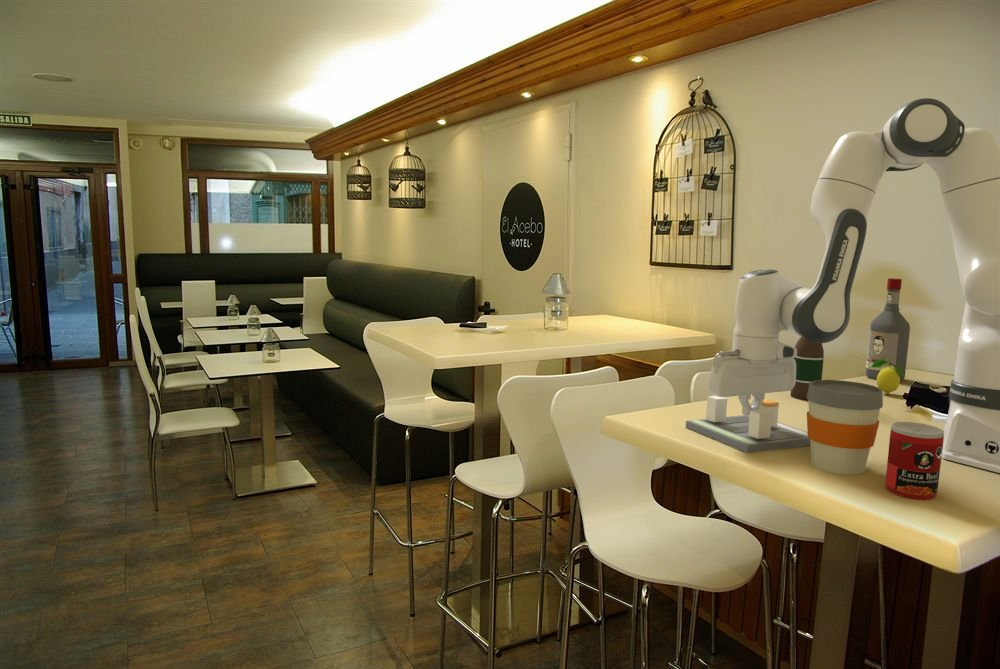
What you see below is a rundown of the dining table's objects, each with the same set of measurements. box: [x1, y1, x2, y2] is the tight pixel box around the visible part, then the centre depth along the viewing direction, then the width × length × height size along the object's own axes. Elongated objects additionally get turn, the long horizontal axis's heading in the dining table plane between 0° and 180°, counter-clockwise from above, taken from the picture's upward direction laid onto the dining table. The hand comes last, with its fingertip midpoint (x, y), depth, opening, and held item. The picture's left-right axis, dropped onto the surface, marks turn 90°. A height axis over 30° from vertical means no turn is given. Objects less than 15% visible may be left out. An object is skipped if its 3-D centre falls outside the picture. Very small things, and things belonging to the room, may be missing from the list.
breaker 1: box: [705, 395, 728, 422], centre depth 157 cm, size 3×3×5 cm
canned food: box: [884, 421, 944, 501], centre depth 121 cm, size 8×8×11 cm
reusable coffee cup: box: [806, 379, 884, 476], centre depth 133 cm, size 12×13×15 cm
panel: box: [685, 414, 811, 454], centre depth 153 cm, size 19×19×2 cm
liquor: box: [864, 277, 911, 381], centre depth 217 cm, size 9×9×30 cm
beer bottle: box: [790, 336, 825, 401], centre depth 189 cm, size 8×8×24 cm
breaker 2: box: [748, 410, 772, 439], centre depth 145 cm, size 3×3×5 cm
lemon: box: [871, 358, 906, 395], centre depth 196 cm, size 7×6×10 cm
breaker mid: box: [759, 399, 780, 426], centre depth 154 cm, size 3×3×5 cm
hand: (750, 414), depth 152 cm, fingers closed
